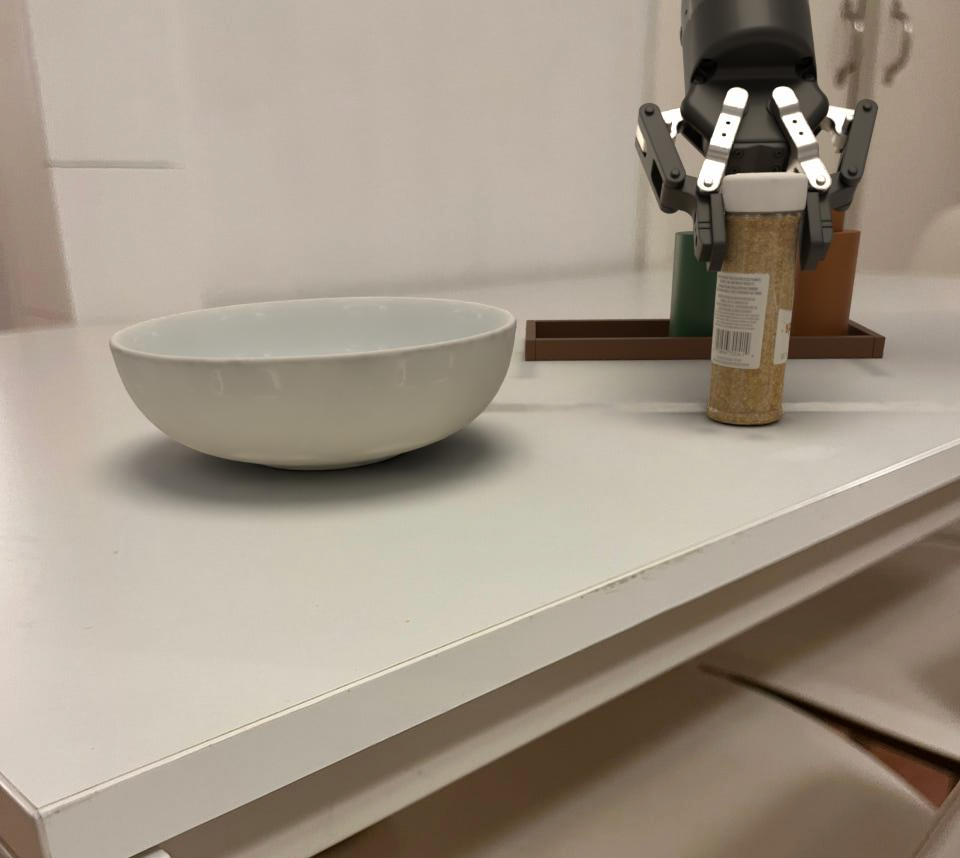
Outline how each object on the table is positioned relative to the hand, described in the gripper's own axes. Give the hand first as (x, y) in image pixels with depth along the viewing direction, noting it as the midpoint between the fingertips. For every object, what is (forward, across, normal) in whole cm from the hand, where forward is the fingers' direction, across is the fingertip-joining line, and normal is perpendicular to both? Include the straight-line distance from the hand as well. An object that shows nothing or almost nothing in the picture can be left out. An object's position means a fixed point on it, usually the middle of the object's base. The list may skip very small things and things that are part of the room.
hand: (765, 260), depth 55 cm
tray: (-10, 0, +23) cm, 26 cm away
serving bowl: (+10, -24, +3) cm, 26 cm away
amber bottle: (-11, +10, +23) cm, 27 cm away
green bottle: (-11, 0, +23) cm, 25 cm away
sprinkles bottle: (+5, 0, +8) cm, 9 cm away
